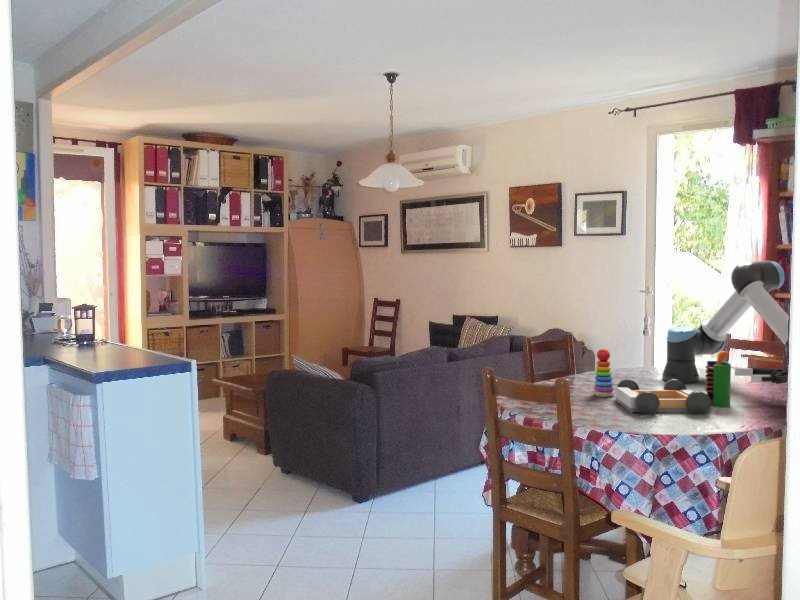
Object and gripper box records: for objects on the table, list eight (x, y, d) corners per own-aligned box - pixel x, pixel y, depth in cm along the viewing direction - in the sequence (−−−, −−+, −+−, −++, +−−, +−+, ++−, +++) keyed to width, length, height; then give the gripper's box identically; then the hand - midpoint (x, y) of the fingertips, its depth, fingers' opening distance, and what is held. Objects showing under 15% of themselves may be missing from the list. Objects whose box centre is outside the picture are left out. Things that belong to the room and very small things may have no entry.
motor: (698, 401, 273) (700, 349, 271) (721, 401, 274) (722, 349, 272) (712, 407, 263) (713, 353, 261) (735, 407, 264) (737, 353, 262)
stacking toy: (614, 394, 288) (615, 347, 286) (613, 398, 280) (614, 350, 279) (594, 392, 290) (594, 347, 289) (592, 396, 283) (593, 349, 281)
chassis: (613, 399, 278) (614, 378, 277) (686, 399, 277) (687, 378, 276) (633, 414, 252) (634, 392, 252) (713, 414, 252) (714, 392, 251)
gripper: (819, 391, 255) (759, 392, 255) (783, 378, 279) (728, 378, 280) (820, 371, 254) (759, 371, 254) (783, 359, 279) (728, 359, 279)
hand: (743, 375), depth 267 cm, fingers open, 13 cm apart
